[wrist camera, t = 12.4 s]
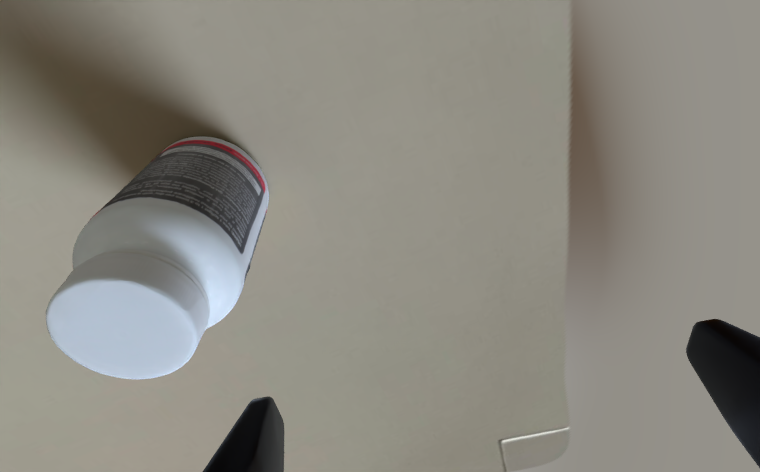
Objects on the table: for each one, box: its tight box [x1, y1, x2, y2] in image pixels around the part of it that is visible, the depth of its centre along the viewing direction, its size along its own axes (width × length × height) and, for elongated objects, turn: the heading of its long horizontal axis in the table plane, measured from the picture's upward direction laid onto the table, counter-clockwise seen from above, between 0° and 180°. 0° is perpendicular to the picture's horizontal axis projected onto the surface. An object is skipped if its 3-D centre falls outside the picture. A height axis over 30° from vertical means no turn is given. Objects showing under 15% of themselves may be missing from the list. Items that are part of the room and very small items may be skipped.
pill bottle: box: [46, 136, 269, 379], centre depth 16 cm, size 5×5×10 cm
